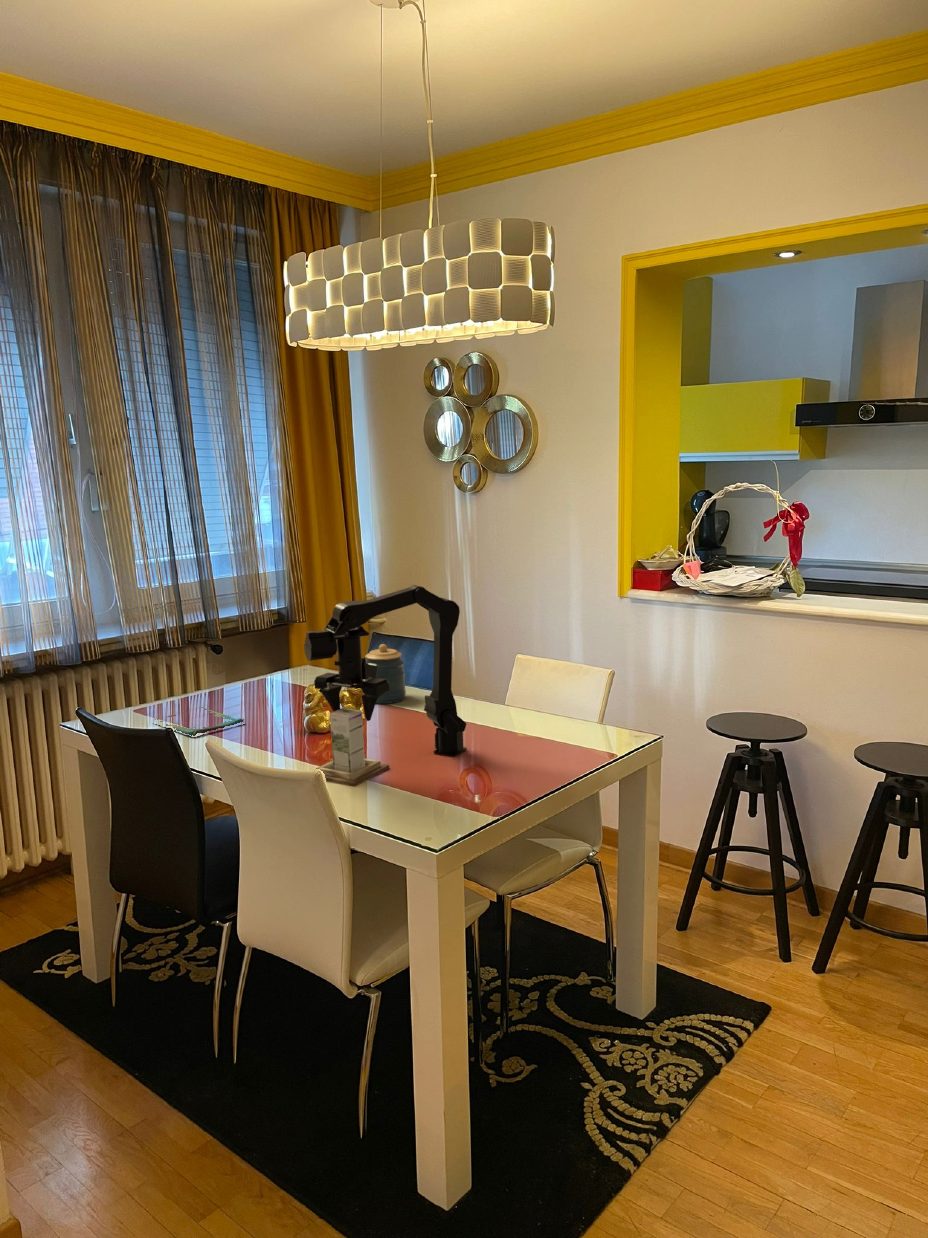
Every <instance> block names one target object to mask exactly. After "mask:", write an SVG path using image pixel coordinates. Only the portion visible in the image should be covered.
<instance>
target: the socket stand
mask: <svg viewBox="0 0 928 1238" xmlns="http://www.w3.org/2000/svg"><path fill="white" fill-rule="evenodd" d="M316 769H320V770H321V771H323V773H324V774H325V778H326V780H327V781H326V782H331V783H336V784H341V785H345V786H351V787H356V786H358V785H360V784H362V783H364V782H365V781H367V780H369V779H371V778H374V777H375V776H377V775H379V774H380V773H382V772H384V771H385V772H386V771H387V770H389V769H390V764H386V763H381V760H377V759H376V760H375V759H370V758H365V767H363V768H361V769H359V770H357V771H355V772H353V773H348V772H343V771H338V770H334V769H333V759H332V760H330V761H328V762H327V763H324V764H322V765H320V766H318V767H316V768H315V770H316Z"/></svg>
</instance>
